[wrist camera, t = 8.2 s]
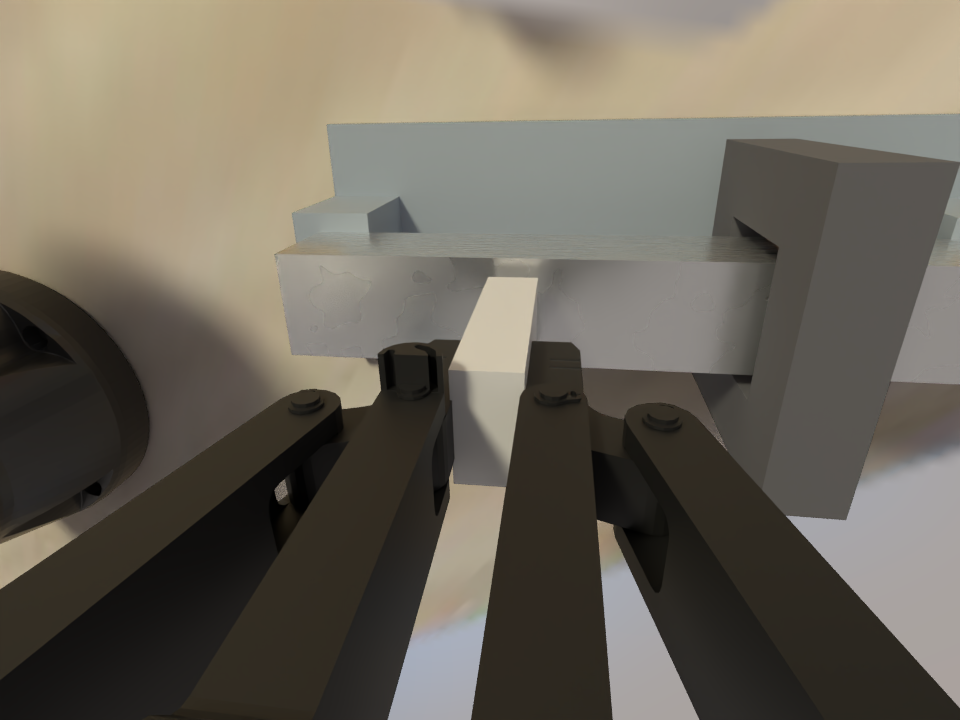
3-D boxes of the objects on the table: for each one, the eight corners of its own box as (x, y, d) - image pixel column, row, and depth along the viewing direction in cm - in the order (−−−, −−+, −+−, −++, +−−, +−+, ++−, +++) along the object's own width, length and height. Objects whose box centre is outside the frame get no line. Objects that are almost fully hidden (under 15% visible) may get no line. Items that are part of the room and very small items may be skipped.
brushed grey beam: (333, 321, 23) (290, 360, 20) (320, 226, 22) (271, 250, 18) (975, 344, 20) (1063, 395, 16) (1017, 234, 18) (1124, 265, 15)
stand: (360, 350, 29) (320, 397, 25) (333, 124, 25) (278, 128, 20) (900, 374, 26) (974, 433, 21) (985, 113, 21) (1105, 115, 16)
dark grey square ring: (690, 371, 25) (756, 513, 16) (726, 139, 21) (839, 162, 12) (747, 373, 24) (846, 519, 16) (795, 138, 20) (960, 162, 12)
